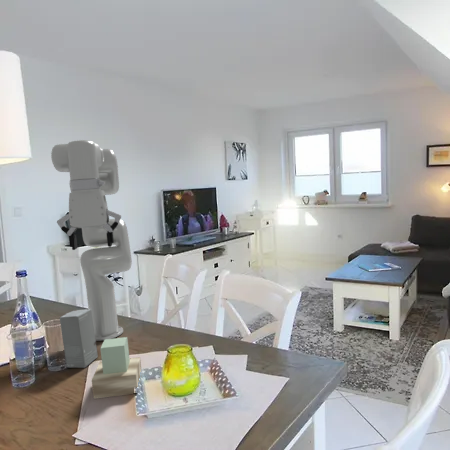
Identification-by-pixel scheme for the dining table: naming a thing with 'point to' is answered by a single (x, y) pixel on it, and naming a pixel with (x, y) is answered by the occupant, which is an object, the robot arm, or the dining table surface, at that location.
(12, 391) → the dining table surface
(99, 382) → the base block
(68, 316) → the skincare box
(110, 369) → the sage block
